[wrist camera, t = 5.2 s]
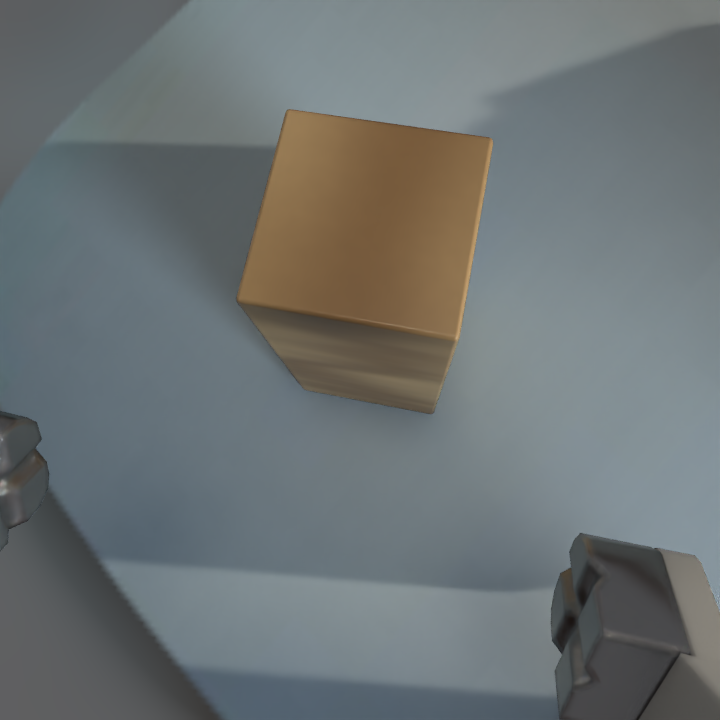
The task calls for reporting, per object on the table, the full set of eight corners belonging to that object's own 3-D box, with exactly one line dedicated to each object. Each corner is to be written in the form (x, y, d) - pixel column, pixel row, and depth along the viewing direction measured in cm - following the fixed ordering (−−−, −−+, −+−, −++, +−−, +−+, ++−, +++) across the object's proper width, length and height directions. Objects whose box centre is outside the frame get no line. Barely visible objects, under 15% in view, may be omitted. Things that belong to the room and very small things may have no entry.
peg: (302, 389, 19) (233, 301, 11) (330, 268, 19) (285, 106, 12) (433, 415, 18) (459, 341, 10) (455, 289, 19) (494, 136, 11)
